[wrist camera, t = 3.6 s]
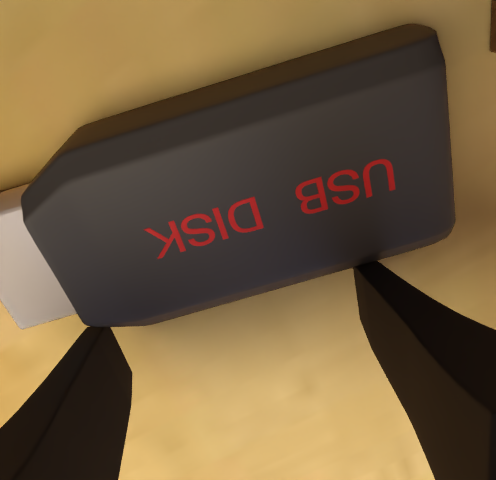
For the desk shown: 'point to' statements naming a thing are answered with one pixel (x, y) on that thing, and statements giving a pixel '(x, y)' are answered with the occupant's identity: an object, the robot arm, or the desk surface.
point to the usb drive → (237, 188)
